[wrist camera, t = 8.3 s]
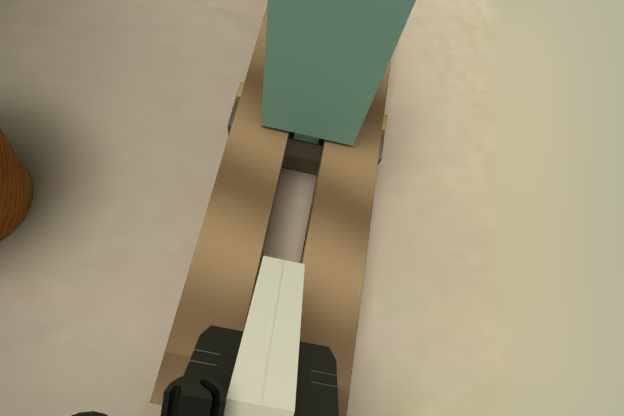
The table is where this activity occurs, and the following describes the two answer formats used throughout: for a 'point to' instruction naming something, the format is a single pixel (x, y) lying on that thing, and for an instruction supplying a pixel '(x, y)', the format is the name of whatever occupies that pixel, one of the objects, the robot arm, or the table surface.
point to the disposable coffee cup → (12, 189)
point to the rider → (327, 63)
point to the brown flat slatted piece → (254, 224)
